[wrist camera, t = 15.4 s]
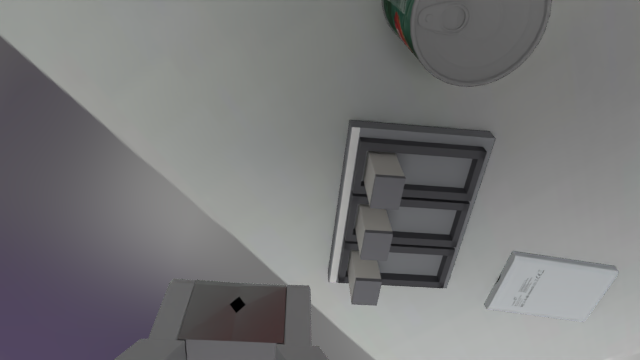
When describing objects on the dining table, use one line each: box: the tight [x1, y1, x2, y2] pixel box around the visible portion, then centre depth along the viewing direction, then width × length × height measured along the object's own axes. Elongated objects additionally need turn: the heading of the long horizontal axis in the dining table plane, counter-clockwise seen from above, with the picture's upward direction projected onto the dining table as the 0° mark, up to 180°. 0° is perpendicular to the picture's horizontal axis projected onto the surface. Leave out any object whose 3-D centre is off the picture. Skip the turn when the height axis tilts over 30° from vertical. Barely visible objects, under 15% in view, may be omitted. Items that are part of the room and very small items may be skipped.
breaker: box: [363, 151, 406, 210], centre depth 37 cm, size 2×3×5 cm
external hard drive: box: [484, 251, 619, 322], centre depth 50 cm, size 2×8×12 cm
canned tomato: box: [382, 0, 552, 87], centre depth 29 cm, size 8×8×11 cm
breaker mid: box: [355, 204, 393, 261], centre depth 40 cm, size 2×3×5 cm
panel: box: [328, 120, 496, 288], centre depth 43 cm, size 13×18×2 cm
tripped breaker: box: [347, 250, 382, 305], centre depth 43 cm, size 2×3×5 cm
